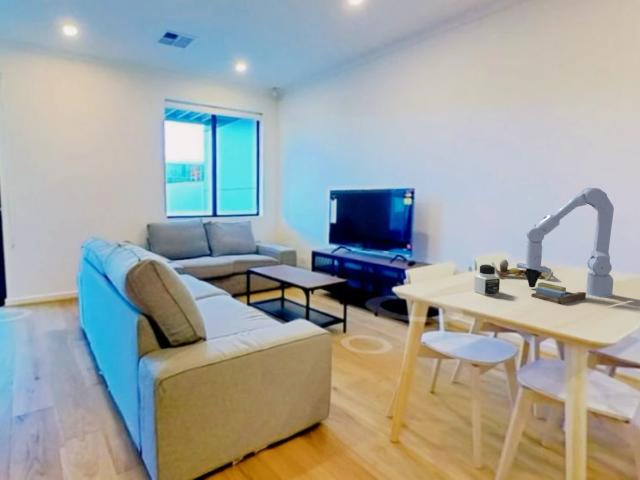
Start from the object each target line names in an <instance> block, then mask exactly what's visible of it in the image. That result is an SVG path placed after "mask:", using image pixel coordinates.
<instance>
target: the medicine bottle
mask: <svg viewBox="0 0 640 480" xmlns="http://www.w3.org/2000/svg"><path fill="white" fill-rule="evenodd" d="M495 266H496V265H495ZM495 266H493V265H492V264H481V265H480V266H479V274H476V275H474V284H473V285H474V286H473V291H474V293H477V294H480V295H482V296H485V297H486V296H494V295H495V296H497V295H498V294H499V293H500V280H501V278H500V277H499V276H496V272H495Z"/></svg>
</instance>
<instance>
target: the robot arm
mask: <svg viewBox="0 0 640 480" xmlns="http://www.w3.org/2000/svg"><path fill="white" fill-rule="evenodd" d="M587 205H589V206H591V207H592V208H593V209H594V210H596V211H597V218H596V225H595V231H594V232H595V234H594V241H593V249H592V251H591V255H590V258H589V259H587V263H586V264H587V267H588V271H587V278H586V290H585V291H584V292H585V293H586V296H591V297H595V298H599V299H601V298H602V299H603V298H607V297H612V296H615V294H614V293H613V290H614V289H613V288H614V278H613V276H612V275H611V274H610V273H611V272H612V269H613V267H612V264H611V262H610V261H611V256H610V253H609V251H610V250H609V249H610V242H611V234H612V226H613V218H614V205H613V202H611V200H610V199H609V197H608V193H606V191H603V190H602V189H600V188H598V187H587V188H584V189H583V190H581V192H579V193H577V194H575V195H574V196H573V197H571V199H570V200H568V201H567V202H566V203H565V204H564V205H563V206H561V208H559V209H558V210H557V211H555V213H554V214H547V215H544V216H543V217H542V219H541V220H540V221H539V222H538V223H537V224H534V225H533V227H532V228H530V229H528V230H527V232H526V237H527V241H526V243H527V245H526V257H525V259H526V260H525V263H521V262H519V263H516V268H517V269H522V270H526V271H524V273H525V275H526V277H527V280H526V281H527V282H528V283H527V284H528V287H529V288H536V285H537V282H538V280H539V279H538V278H539V276H540V275H541V274H542V272H543V273H545V274H546V275H547V274H550V273H551V271H552V269H551V268H548V267H547V268H545V267H542V266H543V265H542V258H543V257H542V254H543V240H544V239H545V236H546V235H548V234H549V233H551V232H552V231H554V229H555V228H557V227H558V226H559V225H560V223H561V222H560V221H561V220H562V219H563V218H564V217H566V216H567V215H568V214H570V213H571V212H572V211H574V210H575V209H576V208H578V207H583V206H587ZM535 269H536V270H535Z"/></svg>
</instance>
